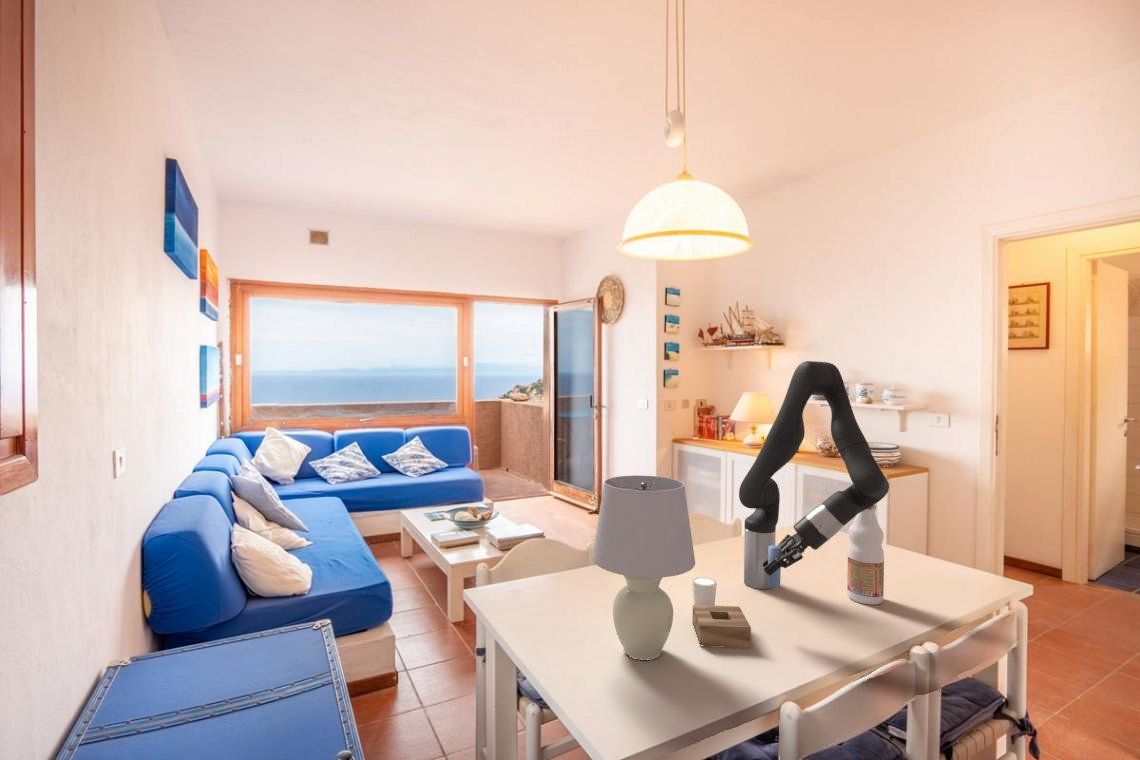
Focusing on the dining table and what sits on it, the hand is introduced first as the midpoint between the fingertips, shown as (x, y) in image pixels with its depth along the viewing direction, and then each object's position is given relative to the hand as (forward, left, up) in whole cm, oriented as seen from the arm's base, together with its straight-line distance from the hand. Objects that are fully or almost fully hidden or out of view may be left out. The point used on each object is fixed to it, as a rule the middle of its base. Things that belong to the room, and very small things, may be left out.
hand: (765, 569), depth 142 cm
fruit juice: (-24, +35, -16) cm, 45 cm away
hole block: (+3, -12, -16) cm, 20 cm away
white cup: (-15, -13, -16) cm, 25 cm away
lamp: (+13, -32, -16) cm, 38 cm away
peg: (0, +2, -4) cm, 5 cm away
